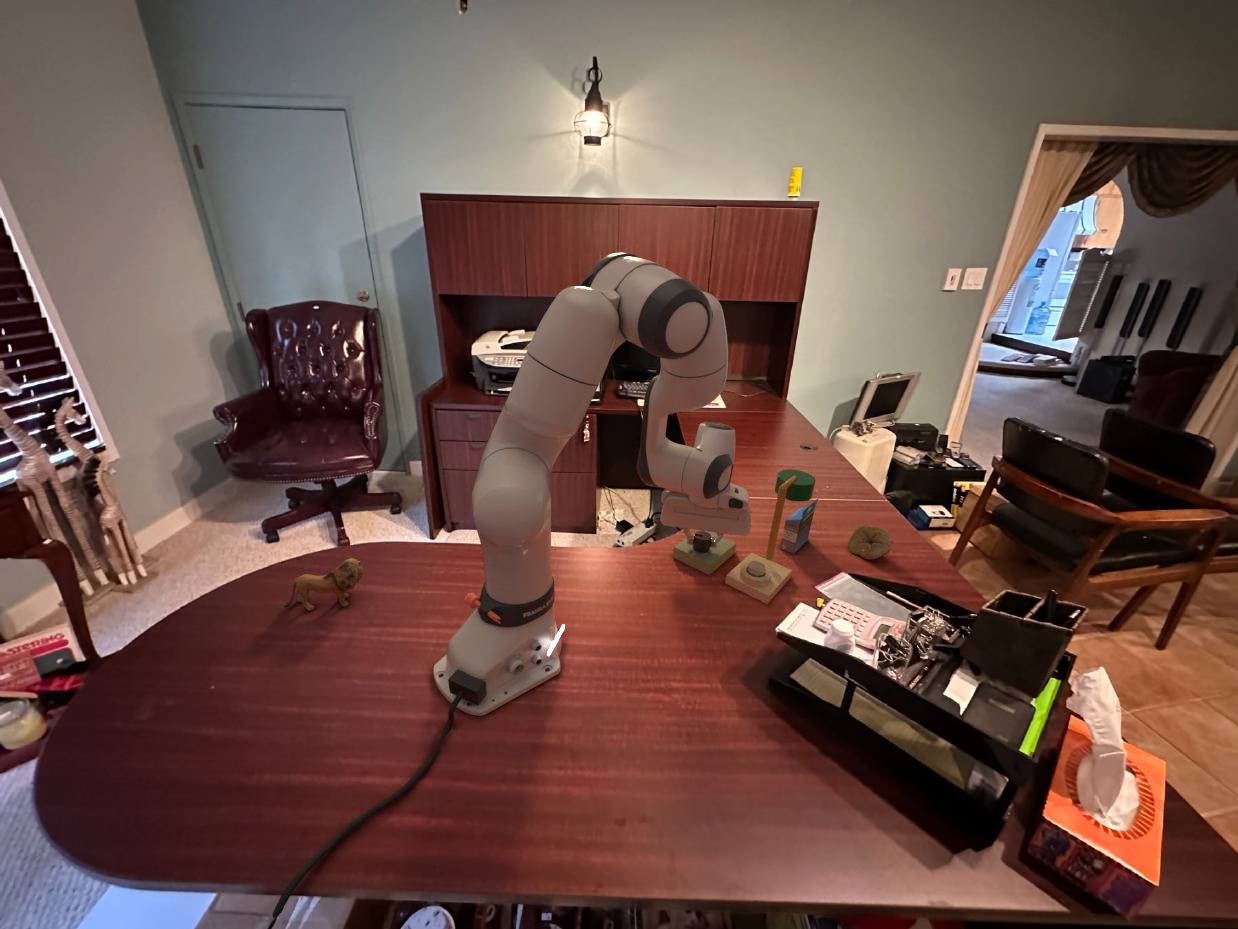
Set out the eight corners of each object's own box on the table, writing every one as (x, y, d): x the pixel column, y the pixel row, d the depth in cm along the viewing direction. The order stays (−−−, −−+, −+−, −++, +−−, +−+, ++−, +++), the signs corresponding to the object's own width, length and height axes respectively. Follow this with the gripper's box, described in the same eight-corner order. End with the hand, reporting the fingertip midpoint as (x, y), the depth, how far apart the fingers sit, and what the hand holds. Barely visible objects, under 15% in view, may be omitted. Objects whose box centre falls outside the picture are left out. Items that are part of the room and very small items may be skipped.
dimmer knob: (710, 545, 117) (712, 531, 115) (708, 554, 113) (710, 540, 112) (693, 542, 118) (695, 528, 116) (691, 551, 114) (693, 537, 113)
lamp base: (767, 604, 103) (770, 588, 101) (724, 583, 109) (727, 568, 107) (790, 578, 111) (793, 563, 110) (750, 560, 117) (752, 545, 115)
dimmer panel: (708, 575, 111) (710, 564, 110) (672, 557, 117) (673, 546, 115) (734, 553, 119) (736, 542, 118) (699, 537, 125) (701, 526, 124)
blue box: (793, 534, 128) (803, 492, 123) (808, 540, 126) (818, 498, 121) (778, 548, 122) (788, 504, 117) (794, 555, 120) (804, 510, 115)
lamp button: (759, 579, 104) (760, 573, 104) (744, 572, 107) (745, 566, 106) (766, 572, 107) (768, 565, 106) (751, 565, 109) (753, 558, 108)
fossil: (857, 520, 125) (898, 530, 117) (863, 528, 127) (903, 539, 119) (842, 550, 123) (882, 562, 115) (848, 558, 125) (888, 571, 117)
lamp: (784, 567, 108) (801, 492, 101) (751, 552, 113) (764, 479, 105) (804, 545, 117) (821, 474, 109) (773, 532, 121) (787, 463, 113)
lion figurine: (369, 587, 102) (362, 550, 99) (367, 603, 98) (359, 566, 94) (287, 601, 98) (276, 563, 94) (281, 619, 93) (269, 580, 89)
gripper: (660, 492, 108) (655, 545, 114) (756, 504, 105) (746, 558, 110) (663, 480, 114) (659, 531, 119) (754, 491, 111) (745, 543, 116)
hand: (701, 544), depth 115 cm, fingers closed on dimmer knob, 4 cm apart
